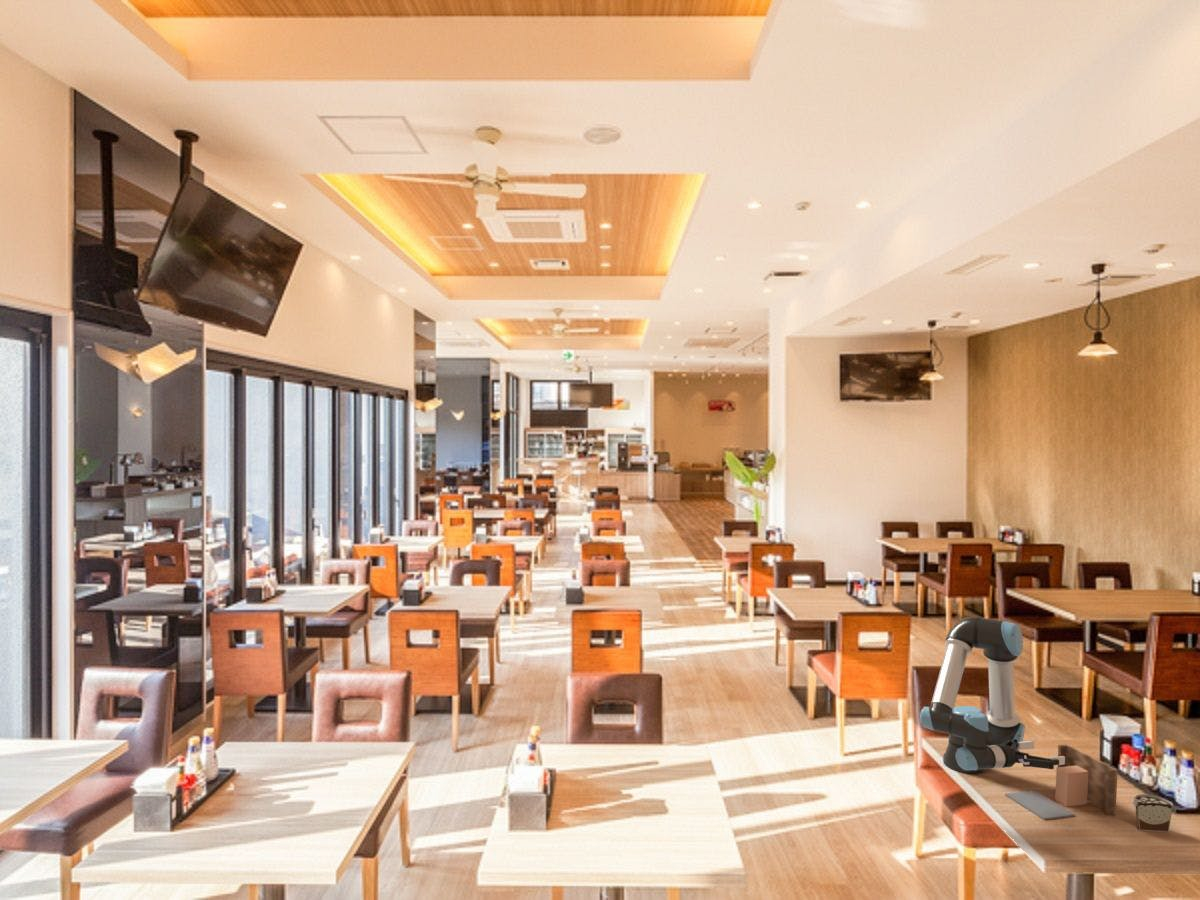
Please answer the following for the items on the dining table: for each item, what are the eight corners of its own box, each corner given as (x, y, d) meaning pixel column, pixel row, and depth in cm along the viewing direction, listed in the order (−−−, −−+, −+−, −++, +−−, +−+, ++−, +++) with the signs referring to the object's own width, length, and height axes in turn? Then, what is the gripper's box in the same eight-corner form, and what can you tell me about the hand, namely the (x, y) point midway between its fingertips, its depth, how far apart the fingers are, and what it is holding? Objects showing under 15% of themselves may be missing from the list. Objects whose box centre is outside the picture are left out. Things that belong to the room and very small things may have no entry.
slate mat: (1005, 795, 284) (1005, 793, 284) (1034, 792, 287) (1034, 790, 287) (1043, 819, 267) (1043, 818, 267) (1074, 816, 270) (1074, 814, 270)
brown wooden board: (1056, 786, 292) (1058, 745, 291) (1064, 785, 293) (1066, 744, 292) (1107, 815, 271) (1109, 770, 270) (1115, 814, 271) (1117, 769, 271)
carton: (1055, 799, 282) (1056, 767, 281) (1075, 797, 284) (1076, 765, 283) (1066, 806, 277) (1067, 773, 276) (1086, 804, 279) (1088, 771, 278)
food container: (1161, 823, 266) (1163, 794, 266) (1173, 832, 260) (1174, 803, 260) (1124, 820, 267) (1125, 792, 267) (1134, 829, 261) (1135, 800, 261)
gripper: (973, 752, 284) (1021, 748, 289) (1025, 782, 260) (1077, 777, 265) (973, 732, 284) (1022, 728, 289) (1026, 760, 259) (1078, 756, 264)
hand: (1048, 752), depth 277 cm, fingers open, 13 cm apart
